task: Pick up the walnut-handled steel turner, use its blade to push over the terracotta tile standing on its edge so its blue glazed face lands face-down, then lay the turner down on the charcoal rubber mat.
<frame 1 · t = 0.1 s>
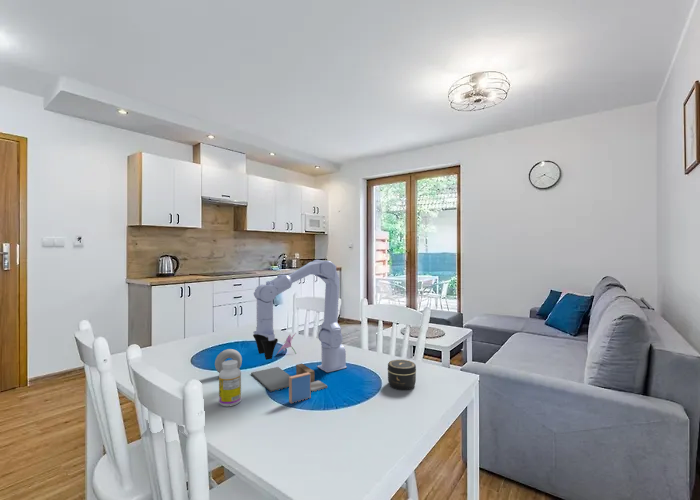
hand: (265, 356, 124), 10 cm above the table, tool pointing down, fingers open, 7 cm apart
supplement bottle: (230, 403, 110), on the table
jar: (401, 385, 123), on the table
donut: (228, 375, 133), on the table
tile: (300, 399, 111), on the table
lily: (287, 353, 160), on the table
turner: (311, 384, 124), on the table
mat: (274, 379, 129), on the table
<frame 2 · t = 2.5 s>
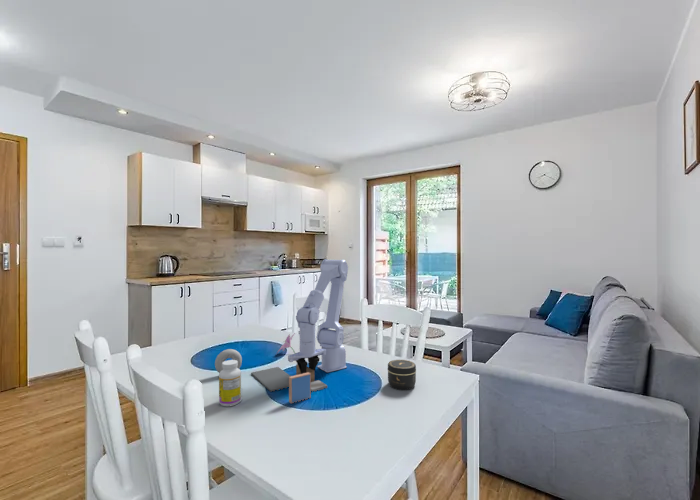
hand: (307, 377, 126), 1 cm above the table, tool pointing down, fingers closed on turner, 2 cm apart
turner: (311, 384, 124), on the table, touching gripper
everything else where it was.
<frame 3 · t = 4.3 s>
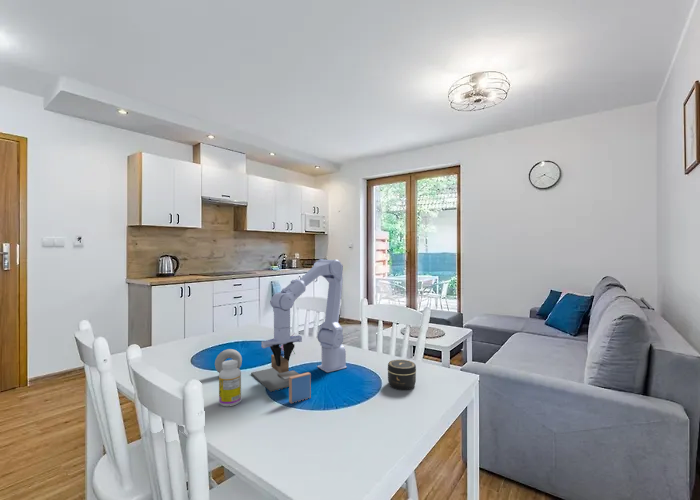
hand: (282, 364, 123), 7 cm above the table, tool pointing down, fingers closed on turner, 2 cm apart
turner: (285, 374, 120), point 5 cm above the table, touching gripper
everything else where it was.
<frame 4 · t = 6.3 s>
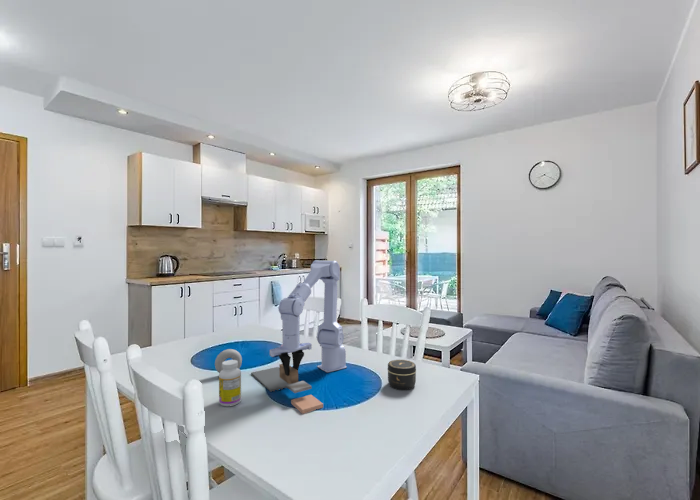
hand: (291, 373, 117), 6 cm above the table, tool pointing down, fingers closed on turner, 2 cm apart
tile: (301, 399, 111), on the table, tilted 90°
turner: (295, 385, 114), point 4 cm above the table, touching gripper
everything else where it was.
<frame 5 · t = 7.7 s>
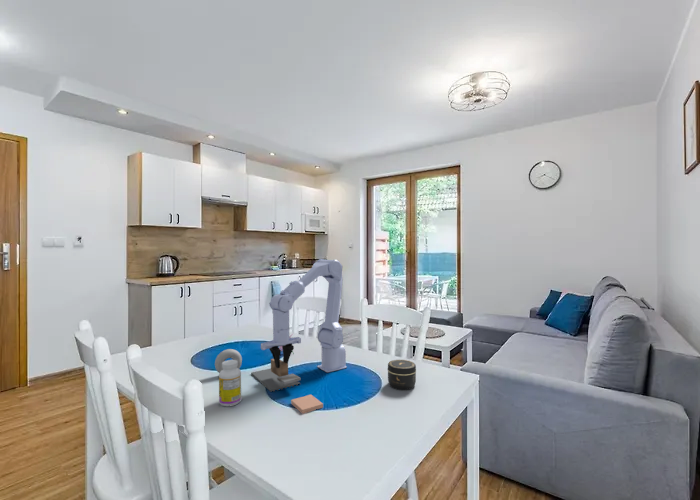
hand: (281, 366, 123), 7 cm above the table, tool pointing down, fingers closed on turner, 2 cm apart
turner: (285, 377, 121), point 3 cm above the table, touching gripper
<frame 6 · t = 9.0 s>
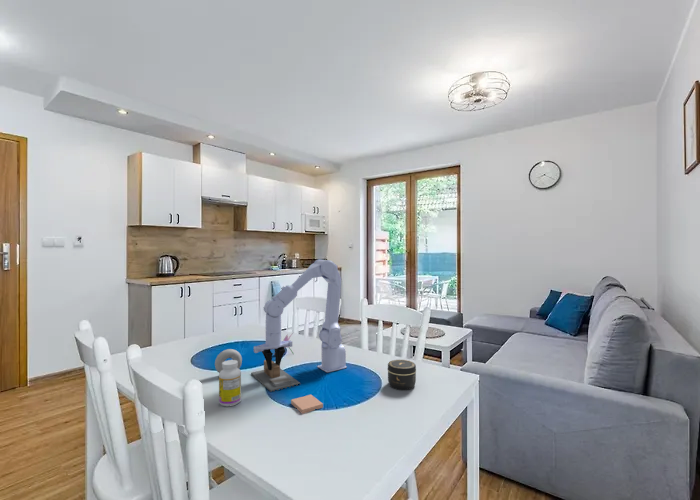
hand: (273, 368, 129), 4 cm above the table, tool pointing down, fingers closed on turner, 2 cm apart
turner: (276, 379, 127), point 1 cm above the table, touching gripper, mat
when the fingers open (3 cm above the table, at t = 9.3 s): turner stays where it is, resting on mat.
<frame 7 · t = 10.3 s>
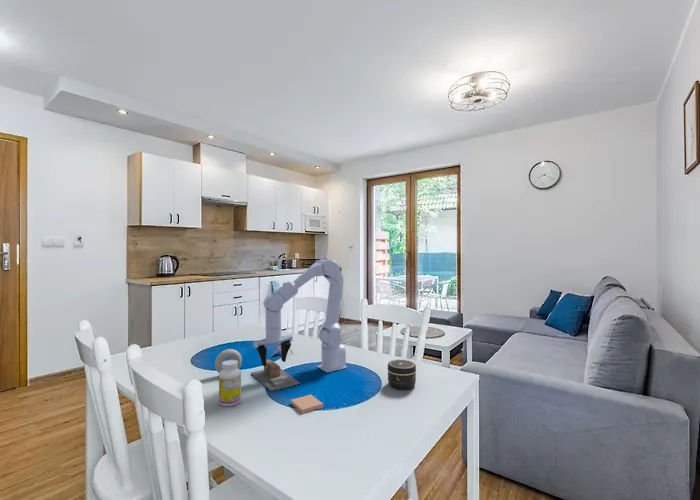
hand: (273, 363, 129), 6 cm above the table, tool pointing down, fingers open, 7 cm apart
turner: (276, 379, 127), point 1 cm above the table, touching mat
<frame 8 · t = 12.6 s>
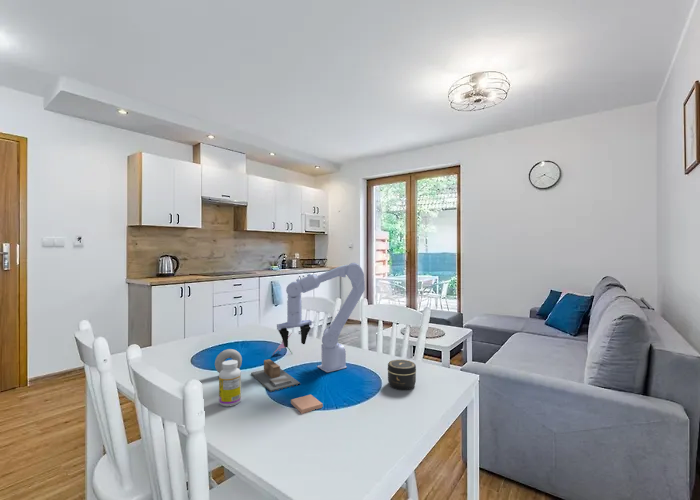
hand: (294, 345, 140), 9 cm above the table, tool pointing down, fingers open, 7 cm apart
at the end: tile tilted 90°; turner inside the target area (0.2 cm from its centre), point 0.6 cm above the table; the gripper is holding nothing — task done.
